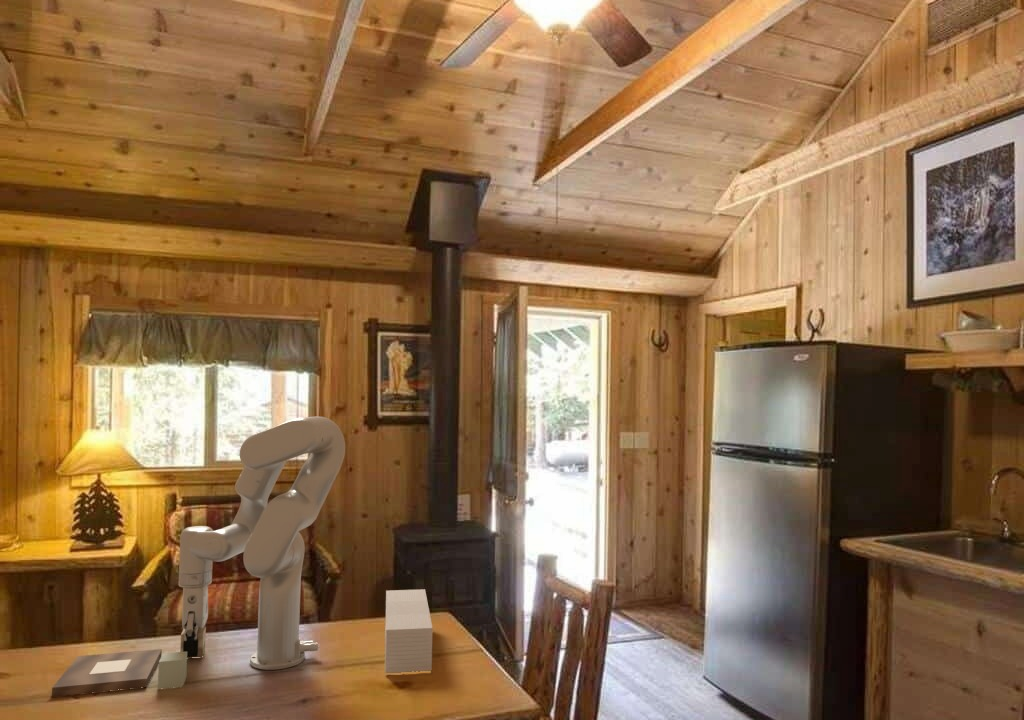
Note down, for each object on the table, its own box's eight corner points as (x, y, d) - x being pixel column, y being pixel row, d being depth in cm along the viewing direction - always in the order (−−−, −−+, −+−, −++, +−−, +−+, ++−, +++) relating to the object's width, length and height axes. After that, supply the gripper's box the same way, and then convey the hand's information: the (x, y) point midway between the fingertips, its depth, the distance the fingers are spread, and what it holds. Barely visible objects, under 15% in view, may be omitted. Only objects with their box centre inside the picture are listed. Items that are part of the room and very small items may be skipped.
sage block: (186, 678, 158) (187, 651, 159) (182, 687, 153) (183, 659, 154) (161, 680, 157) (162, 653, 157) (157, 689, 152) (158, 661, 152)
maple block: (205, 650, 175) (205, 626, 175) (202, 657, 170) (203, 632, 171) (183, 652, 174) (184, 627, 174) (180, 659, 169) (180, 634, 169)
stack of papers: (431, 674, 163) (432, 627, 163) (385, 677, 161) (386, 629, 162) (424, 628, 194) (425, 589, 195) (385, 630, 193) (386, 590, 193)
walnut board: (161, 657, 170) (161, 648, 170) (146, 687, 153) (146, 678, 153) (76, 664, 165) (77, 655, 165) (51, 697, 147) (52, 687, 147)
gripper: (207, 586, 166) (204, 662, 165) (215, 568, 182) (213, 637, 181) (172, 588, 163) (169, 665, 163) (184, 569, 180) (181, 639, 179)
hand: (192, 650), depth 172 cm, fingers open, 7 cm apart
